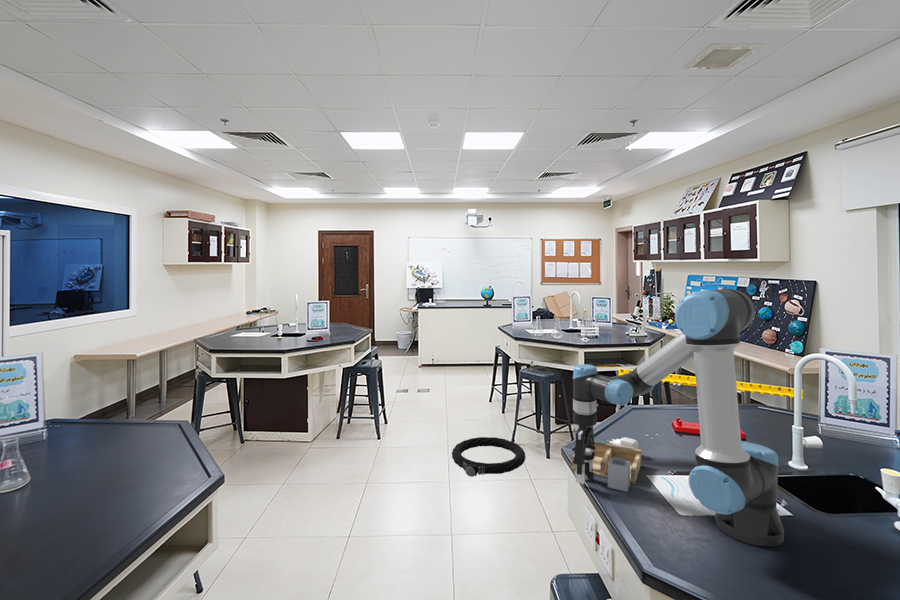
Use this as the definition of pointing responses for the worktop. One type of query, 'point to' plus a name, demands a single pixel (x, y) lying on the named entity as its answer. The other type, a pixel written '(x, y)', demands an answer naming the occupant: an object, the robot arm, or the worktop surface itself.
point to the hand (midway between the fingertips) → (584, 475)
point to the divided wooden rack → (609, 451)
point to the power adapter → (625, 442)
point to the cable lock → (488, 468)
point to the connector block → (619, 474)
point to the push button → (588, 464)
